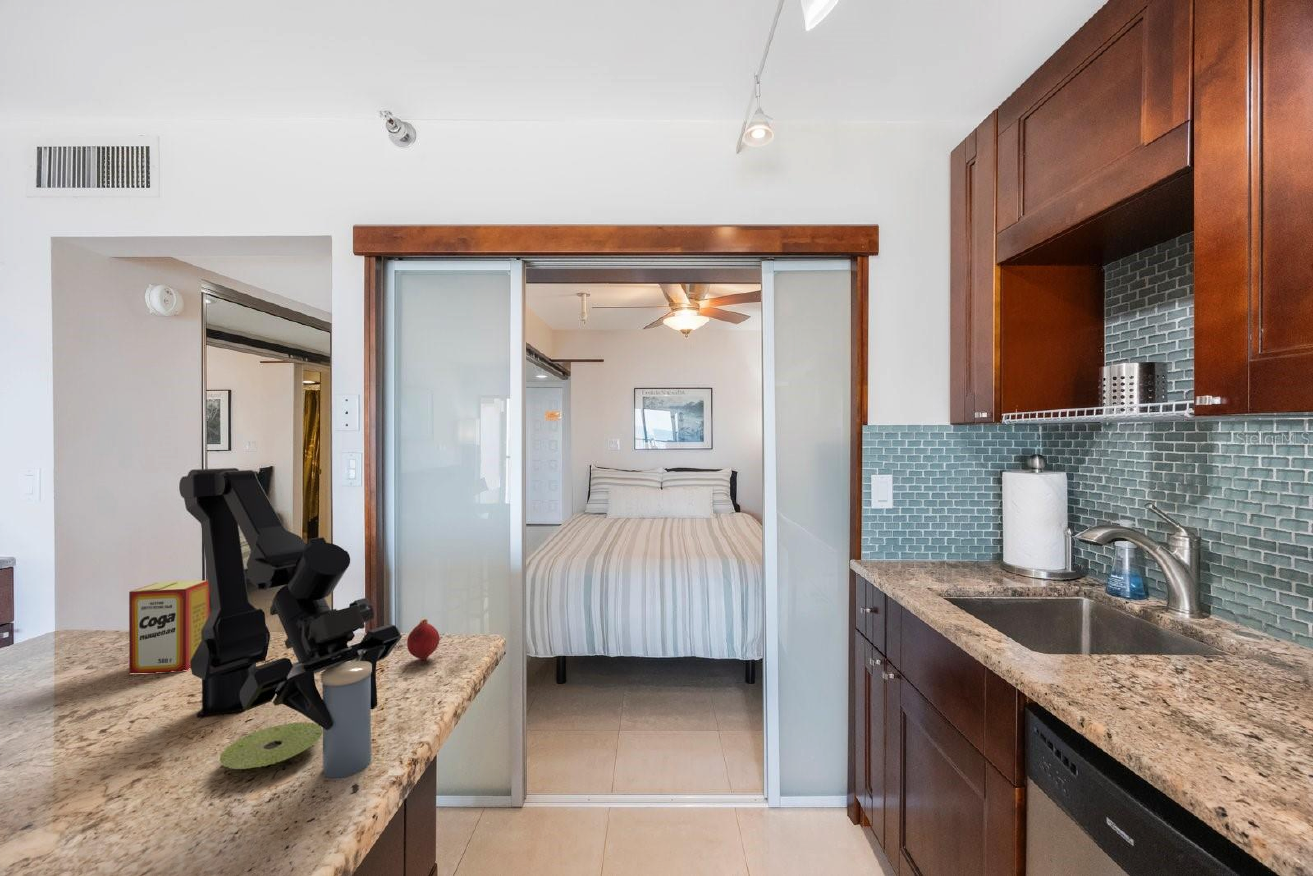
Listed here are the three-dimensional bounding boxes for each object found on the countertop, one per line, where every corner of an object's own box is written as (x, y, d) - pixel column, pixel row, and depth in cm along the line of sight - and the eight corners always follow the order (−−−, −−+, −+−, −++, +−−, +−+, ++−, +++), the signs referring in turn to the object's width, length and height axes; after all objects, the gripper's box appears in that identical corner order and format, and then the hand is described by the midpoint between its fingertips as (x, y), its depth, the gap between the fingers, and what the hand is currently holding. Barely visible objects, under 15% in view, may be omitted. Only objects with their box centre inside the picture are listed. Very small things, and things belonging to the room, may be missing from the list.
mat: (244, 742, 76) (244, 728, 76) (333, 729, 79) (332, 716, 79) (200, 791, 65) (200, 775, 65) (305, 774, 68) (305, 758, 68)
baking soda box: (209, 657, 107) (209, 578, 107) (186, 671, 101) (185, 587, 101) (156, 661, 106) (156, 581, 106) (129, 675, 99) (129, 589, 99)
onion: (427, 667, 101) (426, 624, 101) (400, 665, 102) (400, 623, 102) (445, 655, 106) (444, 615, 107) (419, 653, 108) (419, 613, 108)
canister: (315, 783, 66) (314, 682, 66) (329, 757, 72) (328, 664, 72) (366, 774, 68) (366, 675, 68) (376, 749, 73) (376, 658, 74)
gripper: (250, 602, 64) (298, 716, 58) (393, 569, 80) (442, 656, 74) (221, 655, 68) (263, 767, 62) (363, 614, 84) (407, 700, 78)
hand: (353, 717), depth 69 cm, fingers closed on canister, 5 cm apart
